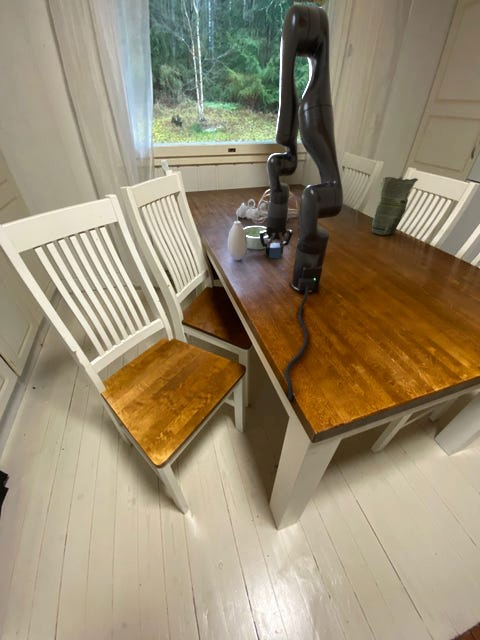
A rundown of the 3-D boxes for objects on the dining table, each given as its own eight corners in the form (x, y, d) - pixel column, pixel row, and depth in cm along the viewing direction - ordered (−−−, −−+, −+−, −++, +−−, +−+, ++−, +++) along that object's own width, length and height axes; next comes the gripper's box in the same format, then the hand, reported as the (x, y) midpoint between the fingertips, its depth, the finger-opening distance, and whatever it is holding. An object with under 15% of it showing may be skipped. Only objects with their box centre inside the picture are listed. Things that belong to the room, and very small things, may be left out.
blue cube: (280, 257, 114) (281, 247, 111) (269, 258, 113) (270, 247, 110) (277, 252, 117) (278, 242, 114) (267, 253, 117) (267, 243, 114)
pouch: (364, 230, 137) (381, 175, 122) (381, 226, 142) (399, 172, 126) (382, 238, 130) (403, 180, 114) (399, 233, 134) (421, 177, 118)
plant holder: (305, 227, 144) (311, 195, 134) (240, 228, 139) (241, 195, 129) (289, 209, 165) (294, 180, 155) (232, 209, 160) (233, 179, 150)
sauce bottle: (230, 264, 108) (229, 219, 97) (226, 256, 114) (224, 212, 103) (249, 262, 110) (250, 217, 99) (243, 254, 116) (244, 210, 104)
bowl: (274, 249, 120) (275, 237, 116) (243, 250, 118) (243, 238, 115) (267, 236, 130) (268, 225, 127) (239, 238, 129) (239, 226, 125)
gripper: (261, 217, 100) (258, 260, 111) (298, 216, 102) (292, 257, 113) (257, 211, 106) (255, 252, 117) (292, 209, 108) (287, 250, 119)
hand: (273, 254), depth 115 cm, fingers closed on blue cube, 4 cm apart
